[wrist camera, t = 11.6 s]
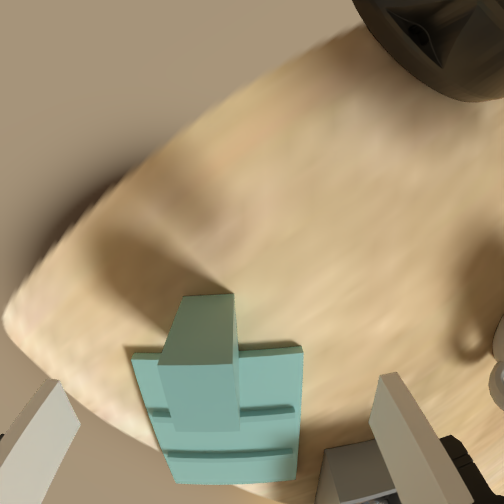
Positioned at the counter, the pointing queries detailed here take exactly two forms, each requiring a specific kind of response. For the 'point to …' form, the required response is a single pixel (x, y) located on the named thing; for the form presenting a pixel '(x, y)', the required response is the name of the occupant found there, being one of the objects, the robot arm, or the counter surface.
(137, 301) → the counter surface
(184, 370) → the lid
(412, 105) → the counter surface
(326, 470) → the tub
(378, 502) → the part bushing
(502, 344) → the cup
